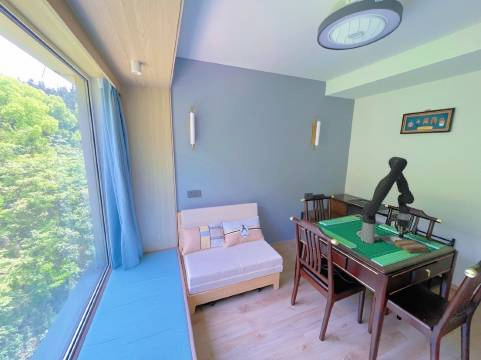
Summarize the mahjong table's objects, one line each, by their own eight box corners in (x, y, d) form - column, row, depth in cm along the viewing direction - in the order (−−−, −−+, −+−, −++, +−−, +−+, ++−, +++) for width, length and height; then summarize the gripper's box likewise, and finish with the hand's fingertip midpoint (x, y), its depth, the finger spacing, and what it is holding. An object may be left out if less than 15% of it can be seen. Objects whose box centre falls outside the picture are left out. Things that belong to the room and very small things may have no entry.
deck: (394, 244, 158) (394, 240, 157) (410, 243, 159) (410, 239, 158) (410, 253, 144) (411, 248, 143) (427, 252, 145) (428, 247, 144)
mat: (376, 236, 173) (376, 236, 173) (397, 235, 174) (397, 235, 174) (389, 243, 159) (389, 243, 159) (411, 242, 160) (411, 242, 160)
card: (389, 238, 167) (389, 236, 167) (396, 238, 167) (396, 236, 167) (398, 243, 158) (399, 241, 158) (405, 243, 158) (405, 241, 158)
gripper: (392, 215, 163) (390, 234, 165) (406, 221, 150) (404, 241, 152) (400, 215, 163) (398, 234, 166) (415, 220, 150) (412, 241, 153)
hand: (401, 237), depth 159 cm, fingers closed
